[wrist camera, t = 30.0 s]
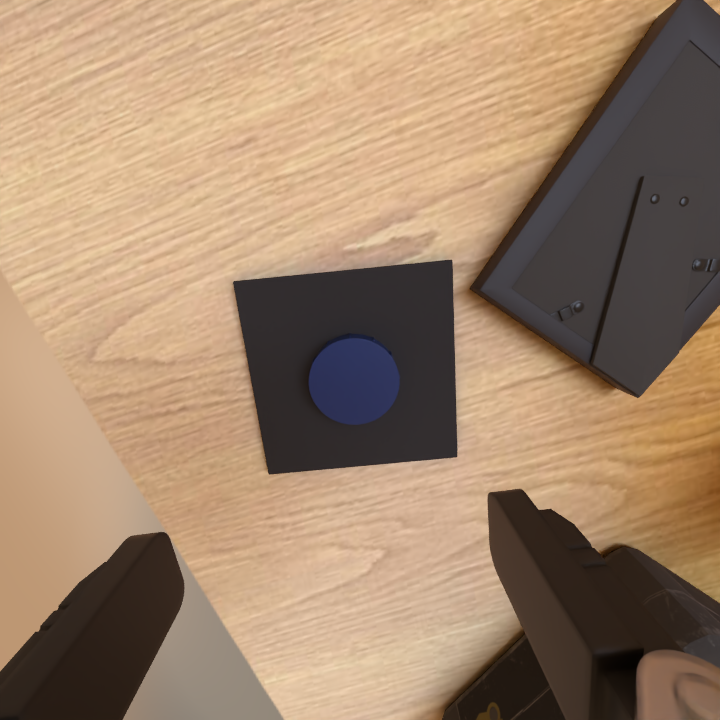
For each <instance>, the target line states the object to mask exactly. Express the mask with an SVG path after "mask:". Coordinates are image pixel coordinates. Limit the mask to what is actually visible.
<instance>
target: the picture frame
mask: <svg viewBox="0 0 720 720" xmlns="http://www.w3.org/2000/svg"><path fill="white" fill-rule="evenodd" d="M470 289H471V290H472V291H474V292H475V293H477V294H478V295H480V296H481V297H482V298H484V299H485V300H487V301H488V302H490V303H491V304H493V305H494V306H496V307H497V308H499V309H500V310H502V311H503V312H505V313H506V314H508V315H509V316H511V317H512V318H513V319H515V320H516V321H518V322H519V323H521V324H522V325H524V326H525V327H527V328H528V329H530V330H531V331H533V332H534V333H536V334H537V335H539V336H540V337H542V338H543V339H544V340H546V341H547V342H549V343H550V344H552V345H553V346H555V347H556V348H558V349H559V350H561V351H562V352H564V353H565V354H567V355H568V356H570V357H571V358H573V359H574V360H575V361H577V362H578V363H580V364H581V365H583V366H584V367H586V368H587V369H589V370H590V371H592V372H593V373H595V374H596V375H598V376H599V377H601V378H602V379H604V380H605V381H606V382H608V383H609V384H611V385H612V386H614V387H615V388H617V389H619V390H621V391H623V392H626V393H628V394H630V395H632V396H635V397H637V398H639V397H640V396H641V395H642V394H643V393H644V392H645V391H646V389H647V388H648V387H649V386H650V385H651V384H652V383H653V382H654V380H655V379H656V378H657V377H658V376H659V375H660V374H661V373H662V371H663V370H664V369H665V368H666V367H667V366H668V365H669V363H670V362H671V361H672V360H673V359H674V358H675V357H676V356H677V354H678V353H679V351H680V350H681V349H682V347H683V346H684V345H685V344H686V343H687V342H688V341H689V339H690V338H691V337H692V336H693V335H694V334H695V332H696V331H697V330H698V329H699V328H700V327H701V326H702V324H703V323H704V322H705V321H706V320H707V319H708V318H709V316H710V315H711V314H712V313H713V312H714V311H715V310H716V308H717V307H718V306H719V305H720V15H719V14H718V13H716V12H715V11H714V10H713V9H712V8H711V7H710V6H709V5H708V4H707V3H706V2H705V1H704V0H677V1H676V2H674V3H673V4H672V5H671V6H670V7H669V8H667V9H666V10H665V11H664V12H663V13H662V14H660V15H659V16H658V17H657V19H656V20H655V22H654V23H653V25H652V26H651V27H650V29H649V30H648V32H647V33H646V35H645V36H644V38H643V39H642V40H641V42H640V43H639V45H638V46H637V48H636V49H635V51H634V52H633V53H632V55H631V56H630V58H629V59H628V61H627V62H626V64H625V65H624V66H623V68H622V69H621V71H620V72H619V74H618V75H617V77H616V78H615V79H614V81H613V82H612V84H611V85H610V87H609V88H608V90H607V91H606V92H605V94H604V95H603V97H602V98H601V100H600V101H599V103H598V104H597V105H596V107H595V108H594V110H593V111H592V113H591V114H590V116H589V117H588V119H587V120H586V121H585V123H584V124H583V126H582V127H581V129H580V130H579V132H578V133H577V134H576V136H575V137H574V139H573V140H572V142H571V143H570V145H569V146H568V147H567V149H566V150H565V152H564V153H563V155H562V156H561V158H560V159H559V160H558V162H557V163H556V165H555V166H554V168H553V169H552V171H551V172H550V173H549V175H548V176H547V178H546V179H545V181H544V182H543V184H542V185H541V186H540V188H539V189H538V191H537V192H536V194H535V195H534V197H533V198H532V199H531V201H530V202H529V204H528V205H527V207H526V208H525V210H524V211H523V212H522V214H521V215H520V217H519V218H518V220H517V221H516V223H515V224H514V225H513V227H512V228H511V230H510V231H509V233H508V234H507V236H506V237H505V238H504V240H503V241H502V243H501V244H500V246H499V247H498V249H497V250H496V251H495V253H494V254H493V256H492V257H491V259H490V260H489V262H488V263H487V264H486V266H485V267H484V269H483V270H482V272H481V273H480V275H479V276H478V277H477V279H476V280H475V282H474V283H473V285H472V286H471V288H470Z"/></svg>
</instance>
